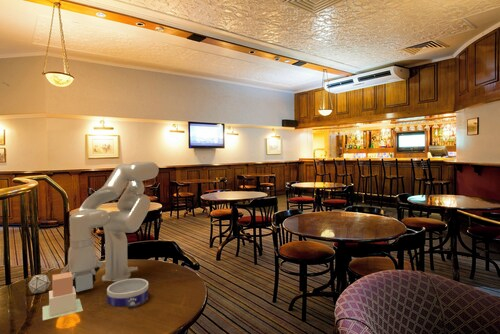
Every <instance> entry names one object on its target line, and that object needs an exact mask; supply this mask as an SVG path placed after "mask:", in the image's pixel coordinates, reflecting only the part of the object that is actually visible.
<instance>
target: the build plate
mask: <svg viewBox="0 0 500 334" xmlns="http://www.w3.org/2000/svg"><path fill="white" fill-rule="evenodd" d="M83 311H84V309H83V307H82V302H81V300H80V298H76V310H74V311H70V312H65V313H61V314H57V315H53V316H50V314H49V304H48V305H44V306H42V321H46V320H51V319H54V318H59V317H63V316H67V315H71V314H75V313H79V312H83Z"/></svg>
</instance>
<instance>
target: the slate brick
mask: <svg viewBox="0 0 500 334" xmlns="http://www.w3.org/2000/svg"><path fill="white" fill-rule="evenodd" d="M75 281H76V289H75V292H77V293H79V292H83V291H85V290H87V291H88V290H89V289H90V290H91V289H93V288H94V284H93V278H92V271H91V270H90V269H89V270H85V271H80V272H76V275H75Z"/></svg>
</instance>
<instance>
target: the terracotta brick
mask: <svg viewBox="0 0 500 334" xmlns="http://www.w3.org/2000/svg"><path fill="white" fill-rule="evenodd" d="M67 272H68V271H67ZM51 277H52V280H51V282H52V283H51V284H52V286H51V287H52V289H51V291H52V292H53V297H57V296H61V295H66V294H71V293H73V276H72V273H71V272H68V273H62V274H61V273H58V274H52V276H51Z"/></svg>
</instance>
